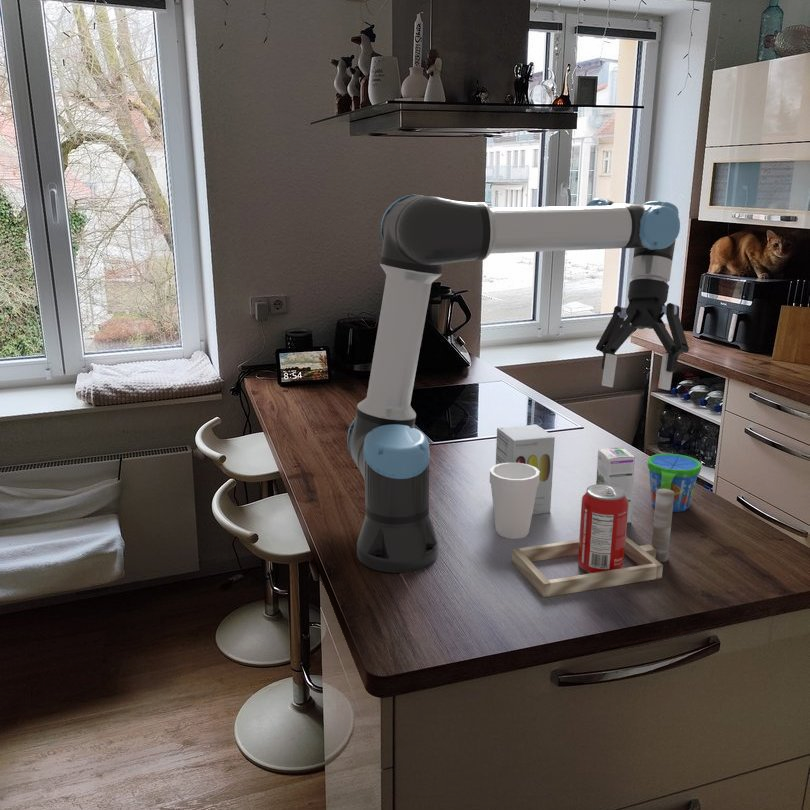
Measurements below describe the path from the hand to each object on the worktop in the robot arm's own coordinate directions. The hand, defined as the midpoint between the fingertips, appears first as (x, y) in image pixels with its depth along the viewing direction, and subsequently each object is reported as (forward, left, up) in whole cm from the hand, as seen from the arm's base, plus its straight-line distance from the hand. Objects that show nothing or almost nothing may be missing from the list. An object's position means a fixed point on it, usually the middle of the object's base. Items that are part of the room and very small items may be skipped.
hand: (634, 387), depth 152 cm
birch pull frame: (-17, -19, -27) cm, 37 cm away
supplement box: (-19, +10, -27) cm, 35 cm away
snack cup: (+11, +1, -27) cm, 30 cm away
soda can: (-17, -19, -27) cm, 37 cm away
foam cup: (-26, -1, -27) cm, 37 cm away
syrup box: (-4, -1, -27) cm, 28 cm away
